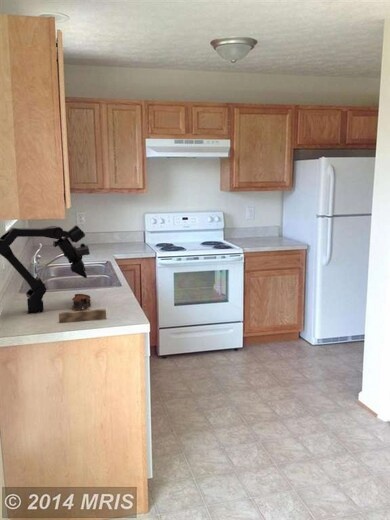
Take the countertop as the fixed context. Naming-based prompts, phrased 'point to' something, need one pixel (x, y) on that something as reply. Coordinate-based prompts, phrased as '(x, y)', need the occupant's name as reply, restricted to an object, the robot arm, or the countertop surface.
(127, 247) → the countertop surface
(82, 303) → the pottery mug
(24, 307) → the countertop surface
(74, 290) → the countertop surface
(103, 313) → the walnut board
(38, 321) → the countertop surface
